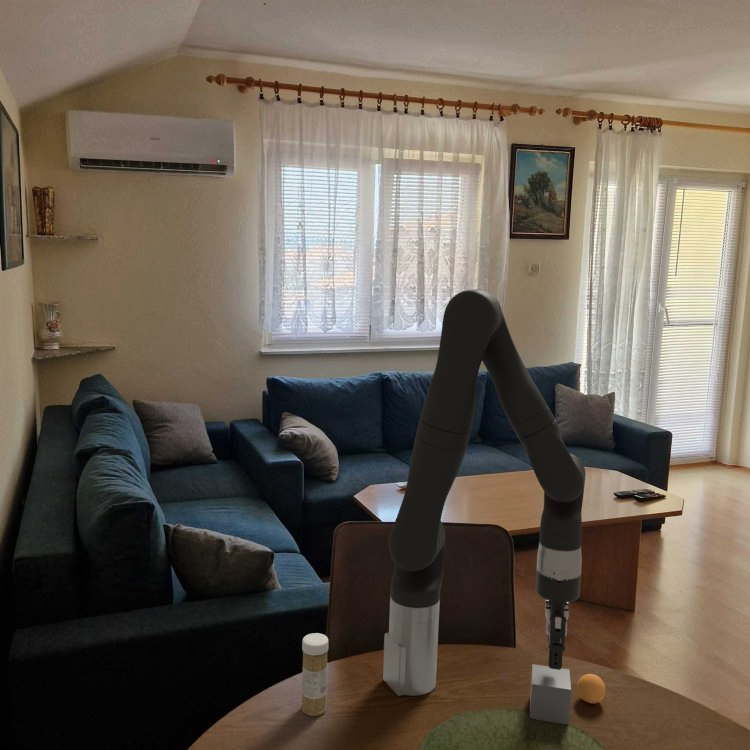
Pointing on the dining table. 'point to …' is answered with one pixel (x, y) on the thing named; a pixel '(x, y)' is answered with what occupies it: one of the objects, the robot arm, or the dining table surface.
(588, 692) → the ball
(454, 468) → the robot arm
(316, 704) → the sprinkles bottle
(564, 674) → the matte gray cube
